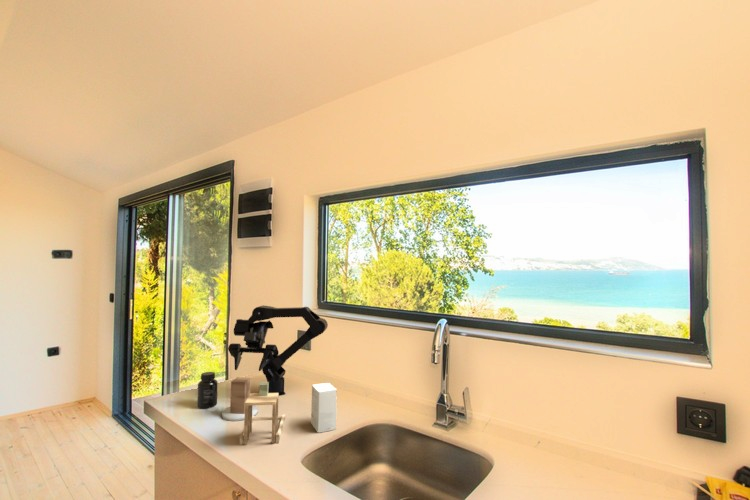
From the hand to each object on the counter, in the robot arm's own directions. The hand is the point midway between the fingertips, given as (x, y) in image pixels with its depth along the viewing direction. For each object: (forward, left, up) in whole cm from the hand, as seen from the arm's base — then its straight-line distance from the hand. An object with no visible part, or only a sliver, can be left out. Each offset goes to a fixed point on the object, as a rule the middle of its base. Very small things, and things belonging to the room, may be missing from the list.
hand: (247, 370), depth 140 cm
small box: (-17, +31, -13) cm, 38 cm away
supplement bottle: (+13, -7, -13) cm, 20 cm away
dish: (+4, +7, -13) cm, 15 cm away
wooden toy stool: (+2, +29, -13) cm, 32 cm away
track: (0, +24, -13) cm, 28 cm away
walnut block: (+4, +7, -12) cm, 15 cm away
